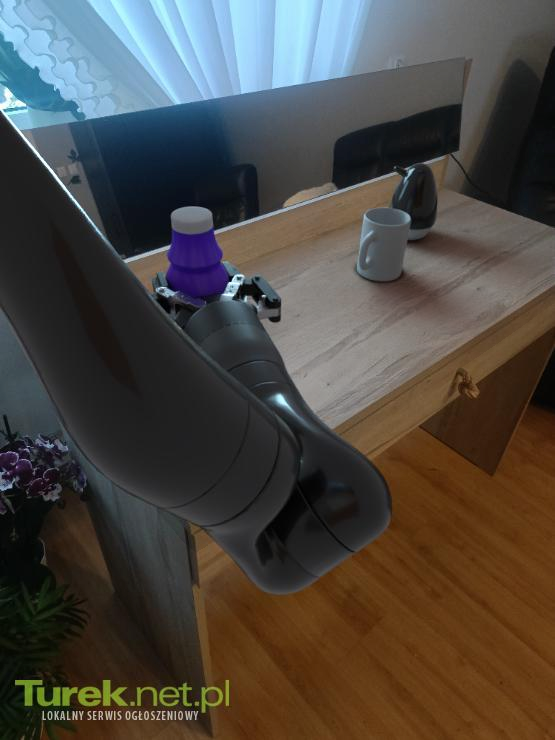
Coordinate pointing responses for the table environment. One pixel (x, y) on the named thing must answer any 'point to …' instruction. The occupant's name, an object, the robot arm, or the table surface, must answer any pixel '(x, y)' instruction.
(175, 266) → the bottle
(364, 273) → the mug
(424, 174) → the pump dispenser
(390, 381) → the table surface
